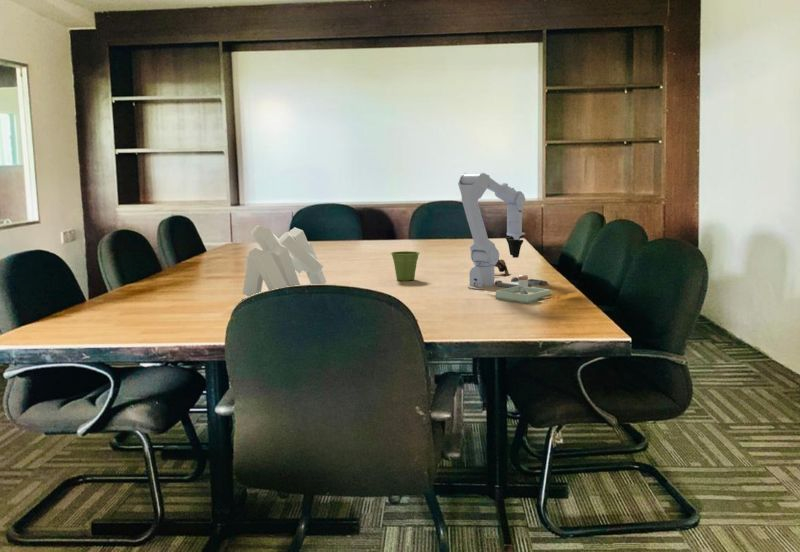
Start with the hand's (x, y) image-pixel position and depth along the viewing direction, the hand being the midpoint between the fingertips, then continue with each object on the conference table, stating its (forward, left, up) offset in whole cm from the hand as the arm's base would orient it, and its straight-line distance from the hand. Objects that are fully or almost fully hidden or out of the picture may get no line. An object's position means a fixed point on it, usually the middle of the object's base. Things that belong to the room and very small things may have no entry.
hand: (514, 256), depth 293 cm
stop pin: (-25, -23, -10) cm, 35 cm away
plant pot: (-23, +38, -11) cm, 46 cm away
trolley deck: (-10, -11, -10) cm, 18 cm away
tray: (-26, -24, -10) cm, 37 cm away
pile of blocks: (-78, +45, -11) cm, 91 cm away
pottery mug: (+12, +18, -11) cm, 24 cm away
